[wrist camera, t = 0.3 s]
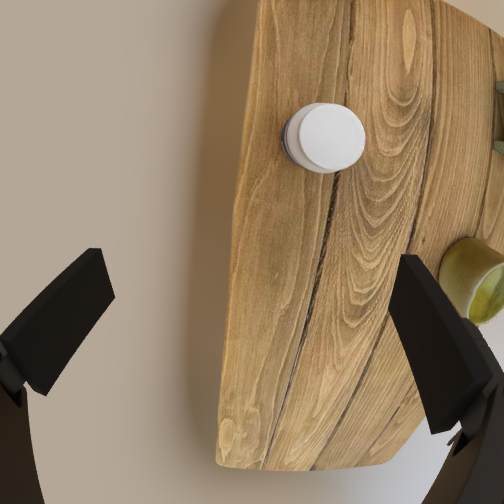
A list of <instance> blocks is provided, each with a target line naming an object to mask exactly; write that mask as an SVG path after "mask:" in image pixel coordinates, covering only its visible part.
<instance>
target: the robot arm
mask: <svg viewBox="0 0 504 504" xmlns="http://www.w3.org/2000/svg"><path fill="white" fill-rule="evenodd" d="M114 298H115V295H114V292H113V288H112V285H111V282H110V279H109V275H108V272H107V268H106V265H105V261H104V258H103V254H102V250H101V248H89V249H87V250H86V251H85V252H84V253H83V254H82V255H80V256H79V257H78V258H77V259H76V260H75V261H74V262H73V263H71V264H70V266H68V267H67V268H66V269H65V270H64V271H63V272H62V273H61V274H59V276H57V277H56V278H55V279H54V280H53V281H52V282H51V283H50V284H49V285H48V286H47V287H46V288H45V289H44V290H43V291H42V292H41V293H40V294H39V295H38V296H37V297H36V298H35V299H34V300H33V301H32V302H31V303H30V304H29V305H28V306H27V307H26V308H25V309H24V310H23V311H22V312H21V313H20V314H19V315H18V316H17V318H15V320H14V321H13V322H12V323H11V324H10V325H9V326H8V327H7V328H6V329H5V331H4V332H3V333H2V334H1V335H0V504H45V503H44V499H43V496H42V492H41V488H40V484H39V480H38V475H37V470H36V466H35V460H34V455H33V449H32V442H31V435H30V427H29V416H28V403H27V391H26V388H25V387H24V386H23V384H24V383H25V381H27V382H28V384H29V385H30V386H31V388H32V389H33V390H34V391H35V392H37V393H40V394H42V395H44V396H47V394H48V392H49V391H50V389H51V388H52V386H53V385H54V383H55V381H56V380H57V378H58V377H59V375H60V374H61V372H62V371H63V369H64V368H65V366H66V365H67V363H68V362H69V360H70V359H71V357H72V356H73V354H74V353H75V352H76V350H77V348H78V347H79V346H80V345H81V343H82V342H83V340H84V339H85V337H86V336H87V335H88V333H89V332H90V331H91V329H92V328H93V326H94V325H95V324H96V322H97V321H98V320H99V318H100V317H101V316H102V314H103V313H104V312H105V310H106V309H107V308H108V306H109V305H110V304H111V302H112V301H113V300H114ZM388 310H389V312H390V315H391V317H392V319H393V322H394V324H395V327H396V329H397V332H398V334H399V337H400V340H401V342H402V345H403V348H404V350H405V353H406V356H407V358H408V361H409V364H410V367H411V370H412V373H413V376H414V379H415V382H416V385H417V388H418V391H419V394H420V397H421V400H422V404H423V407H424V410H425V414H426V417H427V421H428V424H429V428H430V432H431V434H437V433H441V432H445V431H449V430H451V429H452V428H453V427H454V426H455V424H456V423H457V422H458V421H459V420H460V423H461V426H462V428H461V429H460V430H459V431H458V432H457V433H456V435H455V436H454V437H453V438H452V439H451V440H450V441H449V442H448V444H447V445H448V446H449V445H451V444H452V443H453V442H454V443H453V445H452V447H451V449H450V452H449V454H448V456H447V458H446V460H445V462H444V464H443V466H442V468H441V470H440V472H439V474H438V476H437V478H436V479H435V481H434V483H433V485H432V487H431V488H430V490H429V492H428V494H427V495H426V497H425V499H424V500H423V502H422V503H421V504H504V372H503V371H502V369H501V367H500V365H499V363H498V361H497V360H496V358H495V356H494V354H493V352H492V351H491V349H490V347H488V344H487V342H486V341H485V339H484V338H483V336H482V334H481V332H480V331H479V329H478V328H477V326H476V325H475V324H474V323H472V322H471V321H470V320H469V319H468V318H467V317H465V318H461V317H460V316H459V314H458V312H457V311H456V309H455V308H454V306H453V305H452V303H451V302H450V300H449V299H448V297H447V296H446V294H445V293H444V291H443V290H442V289H441V287H440V286H439V284H438V283H437V281H436V280H435V279H434V277H433V276H432V274H431V273H430V272H429V270H428V269H427V268H426V266H425V265H424V264H423V262H422V261H421V260H420V258H419V257H418V256H417V255H408V254H401V257H400V262H399V266H398V271H397V275H396V279H395V283H394V287H393V291H392V295H391V299H390V302H389V306H388Z"/></svg>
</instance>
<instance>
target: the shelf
mask: <svg viewBox="0 0 504 504" xmlns="http://www.w3.org/2000/svg"><path fill="white" fill-rule="evenodd" d="M496 90H498V91H499V92H501V93H502V94H504V81H500V82H496ZM493 149H495V150H497V151H498V152H500V153H502V154H504V142H503V141H494V146H493Z"/></svg>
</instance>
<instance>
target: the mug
mask: <svg viewBox="0 0 504 504" xmlns="http://www.w3.org/2000/svg"><path fill="white" fill-rule="evenodd" d="M439 283H440V286H441V288H442V290H443V291H444V292H445V293H446V294H447V296H448V299H449V300H450V302H451V303H452V305H453V306H454V308H455V309H456V311H457V312H458V314H459V316H460V317H461V318H465V317H467V318H468V319H469V320H470V321H471V322H472V323H474V324H475V325H476V326H477V328H478V325H482V324H486V323H487V322H489V321H490V320H492V319H494V318H495V317H497V316H498V314H499V313H500V312H501V311H502V310H503V309H504V256H503V255H502V254H500V253H499V252H497V251H495V250H494V249H491V248H490V247H488V246H487V245H486V244H484V243H483V242H481V241H480V240H478V239H476V238H471V237H468V238H466V239H462V240H460V241H458V242H457V243H456V244H455V245H453V246H452V247H451V248H450V249H449V250H448V251H447V252H446V254H445V255H444V257H443V261H442V263H441V267H440V271H439Z"/></svg>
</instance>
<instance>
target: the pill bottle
mask: <svg viewBox="0 0 504 504" xmlns="http://www.w3.org/2000/svg"><path fill="white" fill-rule="evenodd" d="M281 145H282V149H283V151H284V153H285V154H286V156H287V157H288V158H289V159H290V160H291V161H292V162H293V163H295V164H296V165H298V166H301V167H303V168H306V169H308V170H310V171H313V172H317V173H332V172H336V171H339V170H341V169H344V168H347V167H349V166H351V165H352V164H354V163H355V162H356V161H357V160H358V159H359V157H360V156H361V154H362V152H363V150H364V146H365V132H364V128H363V126H362V124H361V122H360V120H359V119H358V117H357V116H356V115H355V114H354V113H353V112H352V111H350V110H349V109H347V108H346V107H344V106H341V105H337V104H329V103H313V104H309V105H307V106H305V107H303V108H301V109H300V110H299V111H297V112H296V113H295V114H294V115H293V116H292V117H291V118H290V119H289V120H288V121H287V122H286V123H285V125H284V127H283V129H282V133H281Z"/></svg>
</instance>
